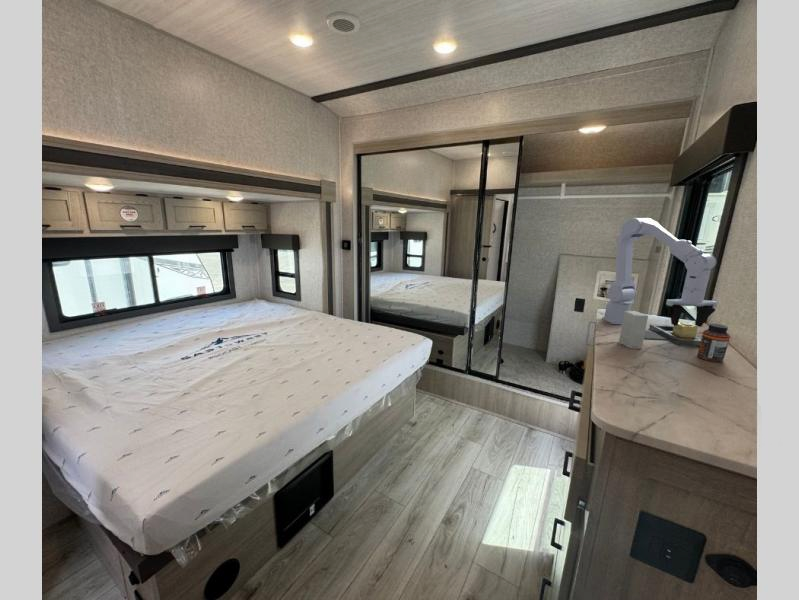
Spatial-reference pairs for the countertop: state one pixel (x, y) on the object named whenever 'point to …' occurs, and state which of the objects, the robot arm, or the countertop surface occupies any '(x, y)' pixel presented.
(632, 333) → the skincare box
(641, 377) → the countertop surface
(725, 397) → the countertop surface
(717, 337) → the supplement bottle
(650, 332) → the mat
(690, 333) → the gold drawer box
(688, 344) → the grey rectangular frame
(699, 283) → the robot arm
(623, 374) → the countertop surface
